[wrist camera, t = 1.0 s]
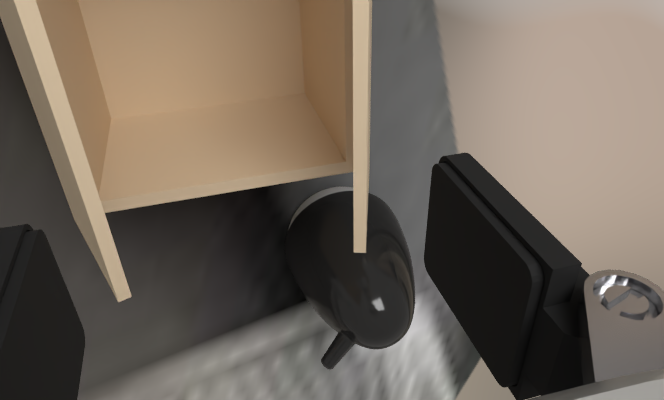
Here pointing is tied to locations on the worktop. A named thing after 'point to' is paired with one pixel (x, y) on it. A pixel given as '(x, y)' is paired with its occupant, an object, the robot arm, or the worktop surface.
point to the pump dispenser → (352, 271)
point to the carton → (205, 93)
